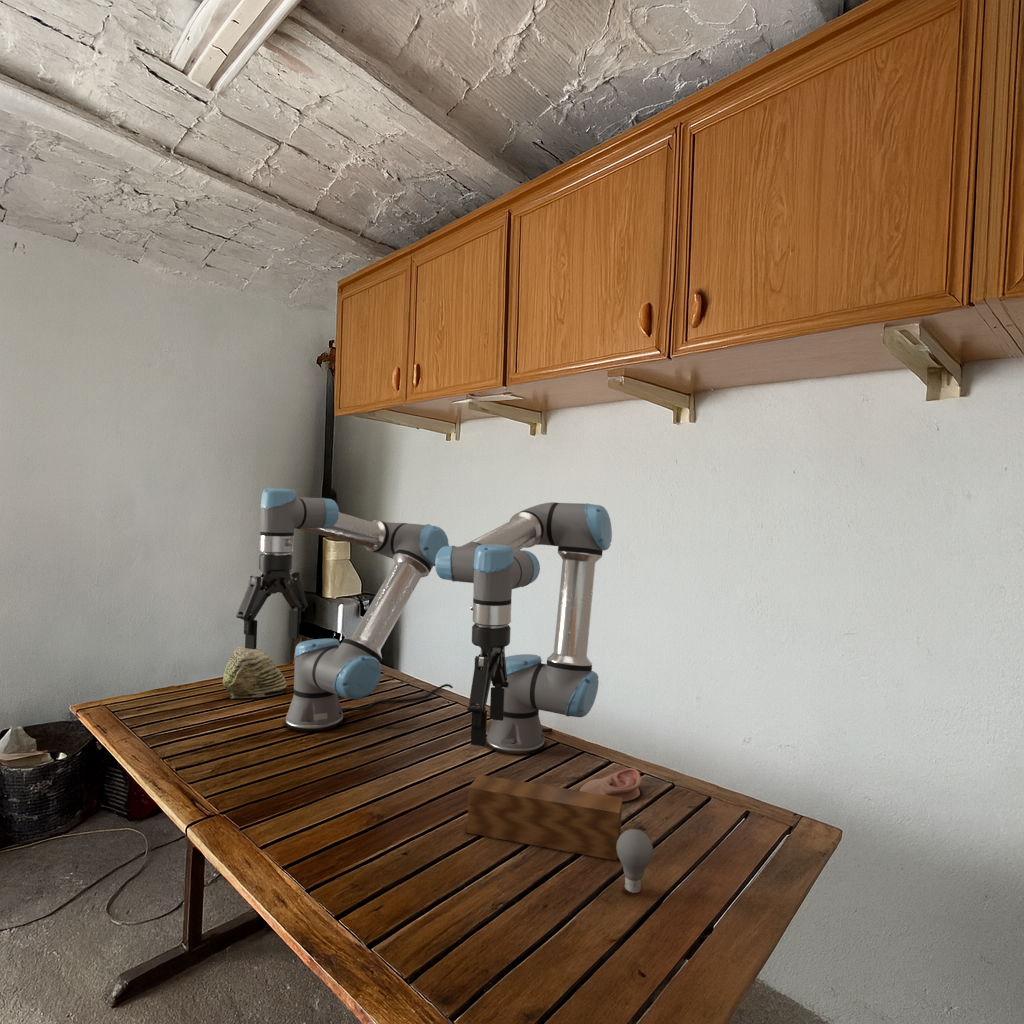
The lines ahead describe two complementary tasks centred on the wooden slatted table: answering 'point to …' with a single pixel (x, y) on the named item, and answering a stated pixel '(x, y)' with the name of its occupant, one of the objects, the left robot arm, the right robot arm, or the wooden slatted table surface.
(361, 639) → the left robot arm
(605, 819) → the box
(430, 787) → the wooden slatted table surface
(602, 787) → the anatomical model
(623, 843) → the light bulb
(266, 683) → the fossil
